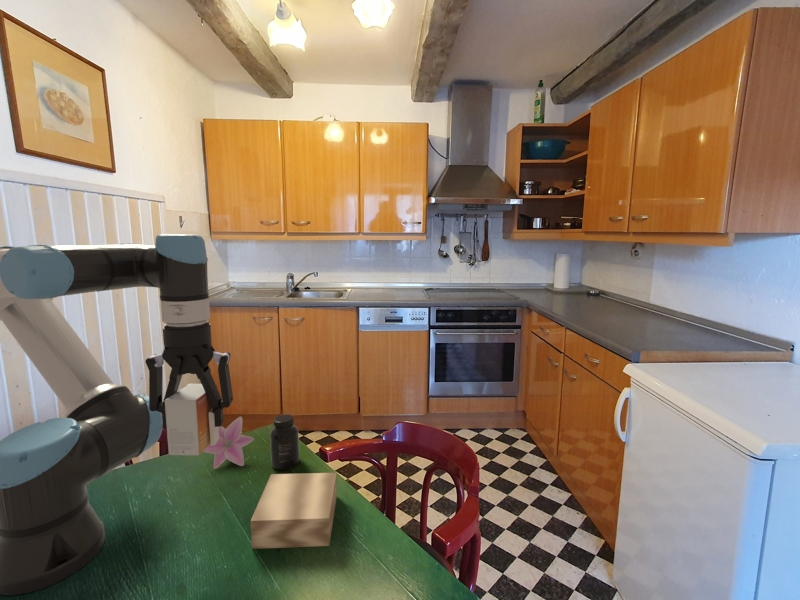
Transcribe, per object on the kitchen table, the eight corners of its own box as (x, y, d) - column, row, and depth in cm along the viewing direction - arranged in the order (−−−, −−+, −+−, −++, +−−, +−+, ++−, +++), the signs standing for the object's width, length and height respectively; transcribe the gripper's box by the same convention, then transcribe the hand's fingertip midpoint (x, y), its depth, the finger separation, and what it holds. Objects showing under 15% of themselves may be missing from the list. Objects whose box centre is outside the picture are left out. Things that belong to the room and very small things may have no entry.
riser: (252, 550, 71) (250, 520, 70) (272, 499, 85) (271, 474, 84) (329, 547, 72) (328, 518, 71) (336, 497, 86) (336, 472, 85)
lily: (191, 468, 97) (190, 446, 92) (219, 430, 107) (219, 408, 101) (237, 484, 97) (238, 463, 91) (260, 445, 107) (262, 423, 101)
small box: (199, 456, 69) (195, 400, 67) (167, 455, 69) (163, 399, 67) (220, 434, 77) (217, 383, 75) (192, 433, 77) (188, 382, 75)
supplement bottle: (304, 458, 100) (303, 414, 98) (290, 473, 94) (288, 426, 92) (281, 453, 102) (279, 410, 100) (265, 468, 96) (263, 422, 94)
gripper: (115, 328, 64) (128, 458, 67) (238, 326, 67) (244, 450, 70) (138, 318, 71) (148, 436, 75) (248, 317, 74) (253, 430, 78)
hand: (195, 443), depth 73 cm, fingers closed on small box, 6 cm apart
